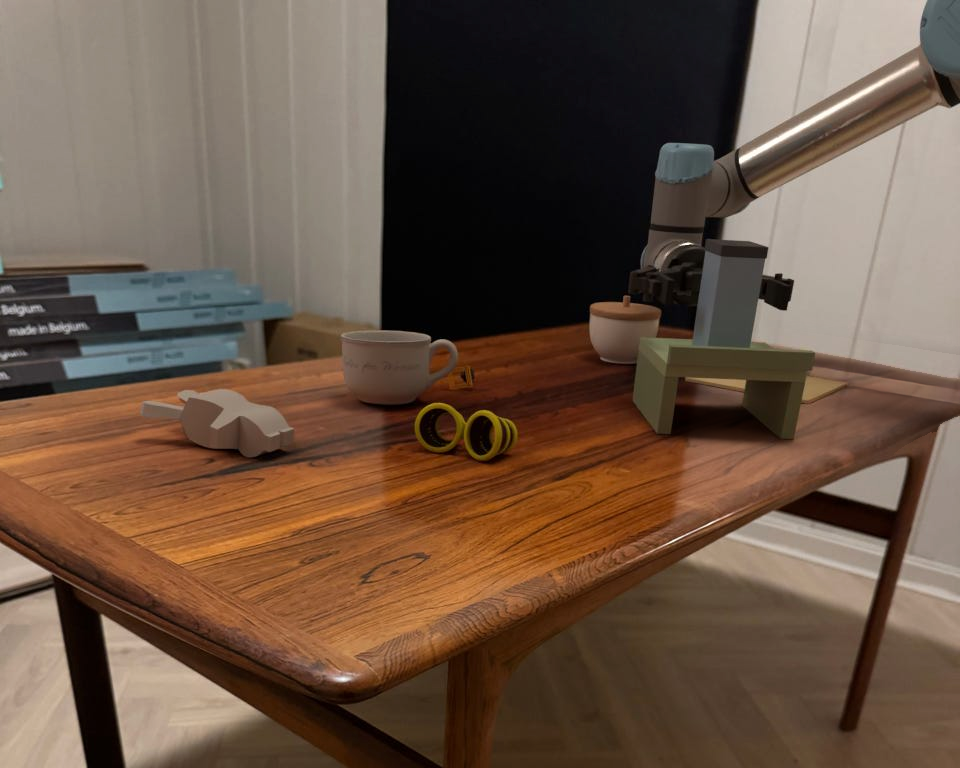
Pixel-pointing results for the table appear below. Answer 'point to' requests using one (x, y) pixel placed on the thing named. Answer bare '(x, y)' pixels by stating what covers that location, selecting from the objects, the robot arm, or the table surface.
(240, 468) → the table surface
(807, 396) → the mat
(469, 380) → the framed picture
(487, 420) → the opera glasses
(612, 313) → the trinket box
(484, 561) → the table surface
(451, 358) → the teacup
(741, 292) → the dark-capped grey pillar
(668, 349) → the stool
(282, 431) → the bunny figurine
